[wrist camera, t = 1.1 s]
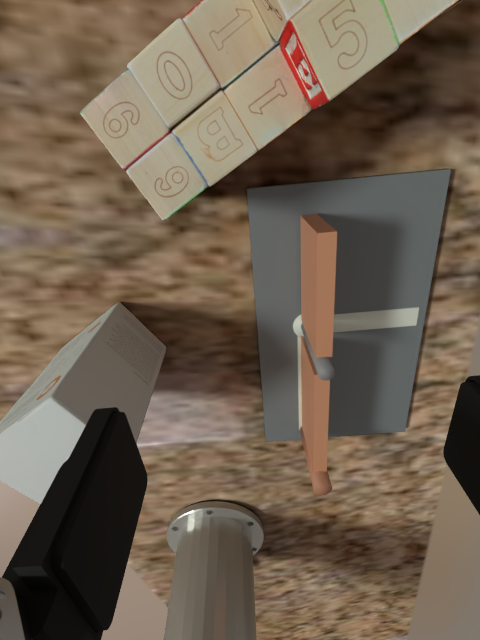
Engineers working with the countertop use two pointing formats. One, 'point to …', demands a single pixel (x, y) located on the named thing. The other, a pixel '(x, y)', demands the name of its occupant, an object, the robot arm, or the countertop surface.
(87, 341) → the small box
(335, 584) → the countertop surface
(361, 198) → the board
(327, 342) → the hinged fence panel
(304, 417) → the fixed fence panel
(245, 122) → the stack of blocks
